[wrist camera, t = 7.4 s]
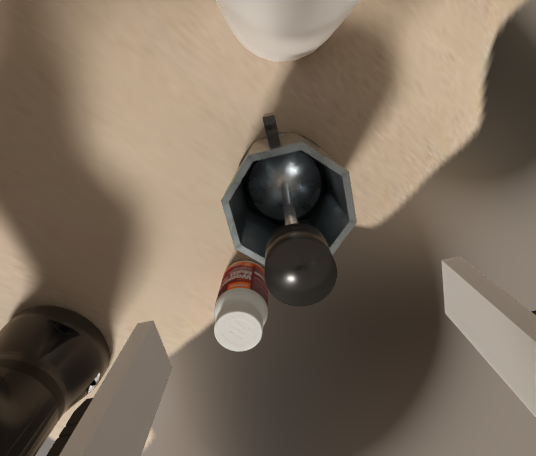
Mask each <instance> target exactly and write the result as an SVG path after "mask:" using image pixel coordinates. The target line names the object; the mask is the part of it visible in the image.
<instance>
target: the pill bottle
mask: <svg viewBox="0 0 536 456" xmlns="http://www.w3.org/2000/svg"><path fill="white" fill-rule="evenodd" d="M264 273H265V270H264V269H263V268H262V267H261V266H260V265H258V264H257V263H255V262H252V261H238V262H235V263H233V264H232V265H230V266H229V267H228V268H227V270H226V271H225V273H224V276H223V279H222V283H221V286H220V290H219V293H218V297H217V300H216V304H215V309H214V314H215V319H216V322H215V327H214V332H215V337H216V339H217V341H218V342H219V343H220V344H221V345H222V346H223V347H225V348H227V349H229V350H233V351H245V350H249V349H251V348H253V347H254V346H256V345H257V344H258V342H259V341H260V339H261V337H262V331H263V326H264V324H265V322H266V320H267V315H268V288H267V285H266V283H265V275H264Z"/></svg>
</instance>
